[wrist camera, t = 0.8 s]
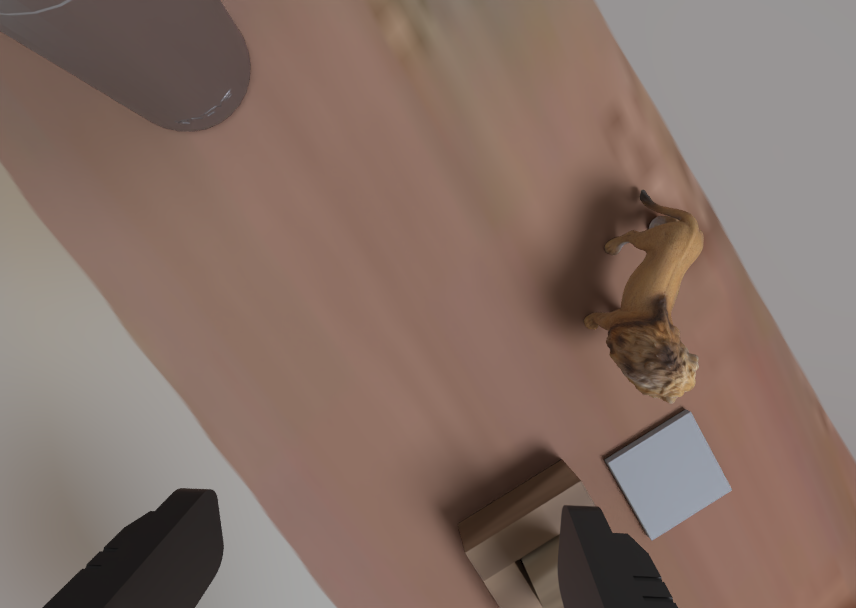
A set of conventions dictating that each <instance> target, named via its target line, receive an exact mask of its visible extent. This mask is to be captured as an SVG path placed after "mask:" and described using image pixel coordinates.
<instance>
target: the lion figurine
mask: <svg viewBox="0 0 856 608" xmlns="http://www.w3.org/2000/svg"><path fill="white" fill-rule="evenodd" d="M640 200H641V202H642V203H643V204H644V205H645V206H646V207H647V208H649V209H651V210H654V211H656V212H658V213H661V214H664V215H667V216H658V217H656V218H654V219H653V220H652V221H651V223H650V226H649V229H648V230H645V231H642V232H637V231H635V230H632V231H629V232H628V233H626V234H624V235H622V236H620V237H616V238H614V239H612V240H610V241H609V242H607V244H606V245H605V251H606V253H608V254H610V255H616V254H618V253H619V252H620V250H621V248H622V246H623V245H624V244H626V243H631V244H633V245H634V246H635V247H636V248H638V249H641V250H644V251H646V253H647V255H646V257H645V259H644V261H643V262H642V263H641V264H640V265H639V266H638V267H637V268H636V270H635V271H634V272H633V274H632V275H631V276H630V278H629V280H628V282H627V284H626V286H625V289H624V292H623V297H622V302H621V308H620V309H617V310H615V311H612V312H608V313H602V312H596V313H592V314H590V315H588V316H586V318H585V319H584V324H585V326H586V327H587V328H588V329H593V330H595V329H597V327H598V325H599V326H601V327H602V328H604V329H606V330H608V337H607V340H606V344H607V346H608V347H609V348H610V357H611V358H612V359H613V360H614V362H615V363H616V364H617V366H618V367H619V368H620V369H621V370H622V372H623V374H624V375H625V376H626V377H627V378H628V380H629V381H630V382H631V383H633V384H634V385H635V387H636V389H638V390H639V391H640V392H641V393H642V394H644V395H649V396H651V397H653V398H660V399H662V400H663V401H666V402H667V403H674V401H675V400H676V398H677V397H681V396H683V394H684V392H688V391H690V390H692V389H693V387H694V385H695V382H696V381H695V376H696V373H695V371H696V370H697V369H698V367H699V366H698V356H696V355H694V354H690V353H689V352H688V349H687V348H686V347H685V346H684V345H683V344H682V343H681V340H680V337H679V336H680V331H679V330H678V329H677V328H676V327H675V326H673V323H672V318H671V311H672V308H673V306H674V303H675V300H676V298H677V295H678V292H679V288H680V284H681V281H682V278H683V276H684V274H685V272H686V271H687V269H688V268H689V267H690V265H691V264H692V263H693V262H694V261H695V260H696V258H697V257H698V256H699V254H700V253H701V251H702V248H703V233H702V231H701V230H699V228H698V224H697V221H696V219H695V218H694V217H693V216H692V215H691V214H689V213H688V212H686V211H683V210H679V209H673V208H668V207H663V206H660V205H658V204H656V203H654V202H653V201H652V200H651V198H650V197H649V196H648V195H647V193H646V191H645V190H641V194H640ZM668 216H670V217H668ZM678 220H679V221H678Z"/></svg>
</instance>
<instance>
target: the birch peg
mask: <svg viewBox="0 0 856 608" xmlns="http://www.w3.org/2000/svg"><path fill="white" fill-rule="evenodd" d="M559 538H560V534H559V535H557V536H555V537H554V538H552V539H551V540H549V541H547V542H546V543H544V544H543V545H541V546H539V547H538V548H536V549H535V550H533V551H531V552H530V553H528V554H527V555H525V556H523V557H522V558H521V559H522V562H523V564H524V566H525V568H526V571H527V573H528V575H529V577H530V580H531V582H532V584H533V586H534V589H535V591H536V593H537V595H538V598H539V600H540V602H541V604H542V607H543V608H564V606H563V602H562V598H561V594H560V589H559V582H558V568H557V567H558V550H559Z"/></svg>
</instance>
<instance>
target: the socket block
mask: <svg viewBox="0 0 856 608" xmlns="http://www.w3.org/2000/svg"><path fill="white" fill-rule="evenodd" d="M564 505H574V506H595V504H594V502H593V501H592V499H591V497H590V495H589V494H588V492H587V490H586V489H585V487H584V485H583V483H582V482H581V480H580V479H579V478H578V477H577V476H576V475H575V473H574V472H573V471H572V470H571V469H570V468H569V467H568V466H567V464H566V463H565V462H564V461H563V460H560V461H559V462H557V463H555V464H554V465H552V466H551V467H549V468H547V469H546V470H544V471H543V472H541V473H539V474H538V475H536V476H534V477H533V478H531V479H530V480H528V481H526V482H525V483H523V484H522V485H520V486H518V487H517V488H515V489H514V490H512V491H510V492H509V493H507V494H505V495H504V496H502V497H501V498H499V499H497V500H496V501H494V502H493V503H491V504H489V505H488V506H486V507H484V508H483V509H481V510H480V511H478V512H476V513H475V514H473V515H472V516H470V517H468V518H467V519H465V520H463V521H462V522H460V523H459V524H458V527H459V531H460V535H461V539H462V543H463V547H464V551H465V554H466V555H467V557H468V558H469V560H470V561H471V563H472V565H473V566H474V568H475V569H476V571H477V572H478V574H479V576H480V577H481V579H482V580H483V582H484V583H485V585H486V587H487V588H488V590H489V591H490V593H491V594H492V596H493V598H494V599H495V601H496V602H497V604H498V605H499V607H500V608H543V607H542V604H541V602H540V600H539V598H538V595H537V593H536V591H535V589H534V586H533V584H532V582H531V580H530V577H529V575H528V573H527V572H526V570H525V569H524V567H523V565H522V564H521V562H520V561H519V559H520V558H522V557H523V556H525V555H527V554H528V553H530V552H531V551H533V550H535V549H536V548H538V547H539V546H541V545H543V544H544V543H546V542H547V541H549V540H551V539H552V538H554V537H555V536H557V535H559V534H560V525H561V513H562V508H563V506H564Z"/></svg>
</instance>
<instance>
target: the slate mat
mask: <svg viewBox="0 0 856 608" xmlns="http://www.w3.org/2000/svg"><path fill="white" fill-rule="evenodd" d="M605 462H606V464H607V466H608V467H609V469H610V471H611V473H612V474H613V476H614V478H615V480H616V481H617V483H618V485H619V487H620V488H621V490H622V492H623V494H624V495H625V497H626V499H627V501H628V502H629V504H630V506H631V508H632V510H633V511H634V513H635V515H636V517H637V518H638V520H639V522H640V524H641V525H642V527H643V529H644V531H645V532H646V534H647V536H648V537H649V538H650V539H651V540H654V539H655V538H657V537H658V536H660V535H662V534H663V533H665V532H666V531H668V530H670V529H671V528H673V527H674V526H676V525H677V524H679V523H681V522H682V521H684V520H685V519H687V518H689V517H690V516H692V515H693V514H695V513H697V512H698V511H700V510H701V509H703V508H704V507H706V506H708V505H709V504H711V503H712V502H714V501H716V500H717V499H719V498H720V497H722V496H723V495H725V494H727V493H728V492H730V491H731V490H732V489H731V487H730V485H729V483H728V481H727V479H726V478H725V476H724V474H723V472H722V470H721V468H720V466H719V464H718V462H717V461H716V459H715V457H714V455H713V453H712V451H711V449H710V447H709V445H708V444H707V442H706V440H705V438H704V436H703V434H702V432H701V430H700V428H699V427H698V425H697V423H696V421H695V419H694V417H693V415H692V413H691V412H690V411H688V410H686V409H685V410H684V411H682V412H680V413H679V414H677V415H676V416H674V417H672V418H671V419H669V420H668V421H666V422H664V423H663V424H661V425H660V426H658V427H656V428H655V429H653V430H652V431H650V432H648V433H647V434H645V435H644V436H642V437H640V438H639V439H637V440H635V441H634V442H632V443H631V444H629V445H627V446H626V447H624V448H623V449H621V450H619V451H618V452H616V453H615V454H613V455H611V456H610V457H608V458H607V459H605Z"/></svg>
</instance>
